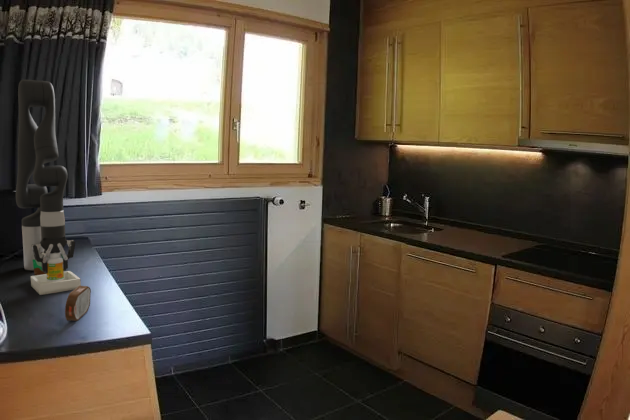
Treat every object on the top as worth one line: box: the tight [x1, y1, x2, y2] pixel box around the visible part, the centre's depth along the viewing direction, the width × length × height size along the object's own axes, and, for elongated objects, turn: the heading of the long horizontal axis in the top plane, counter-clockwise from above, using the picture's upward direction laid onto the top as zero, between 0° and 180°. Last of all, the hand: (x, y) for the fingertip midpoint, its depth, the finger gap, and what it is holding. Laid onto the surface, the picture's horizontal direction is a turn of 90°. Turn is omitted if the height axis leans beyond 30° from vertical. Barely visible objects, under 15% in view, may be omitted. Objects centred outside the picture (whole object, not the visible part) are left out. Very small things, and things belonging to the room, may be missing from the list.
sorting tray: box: [30, 270, 82, 296], centre depth 187 cm, size 13×13×4 cm
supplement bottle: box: [46, 252, 65, 282], centre depth 187 cm, size 5×5×10 cm
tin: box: [64, 284, 92, 322], centre depth 159 cm, size 15×3×8 cm, turn 5°
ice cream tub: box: [31, 252, 49, 276], centre depth 200 cm, size 12×6×10 cm, turn 168°
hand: (55, 271), depth 187 cm, fingers closed on supplement bottle, 5 cm apart
